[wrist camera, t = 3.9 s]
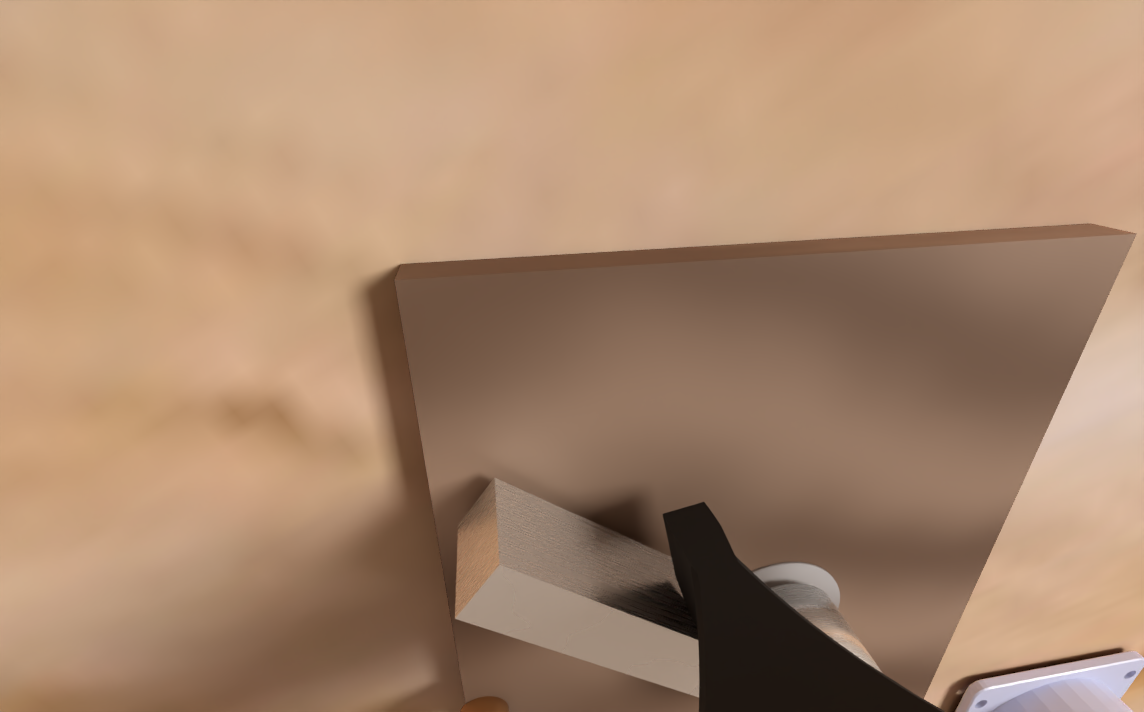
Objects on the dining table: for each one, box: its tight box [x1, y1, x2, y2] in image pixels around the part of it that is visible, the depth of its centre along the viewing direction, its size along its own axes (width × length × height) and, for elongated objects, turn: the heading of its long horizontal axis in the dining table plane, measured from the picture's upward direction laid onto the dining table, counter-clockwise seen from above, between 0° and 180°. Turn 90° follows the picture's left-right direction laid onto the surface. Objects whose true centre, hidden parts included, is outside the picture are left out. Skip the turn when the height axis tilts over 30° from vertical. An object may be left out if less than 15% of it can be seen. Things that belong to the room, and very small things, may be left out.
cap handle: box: [455, 478, 882, 697], centre depth 13 cm, size 12×4×2 cm, turn 54°
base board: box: [394, 224, 1136, 712], centre depth 14 cm, size 17×16×3 cm
